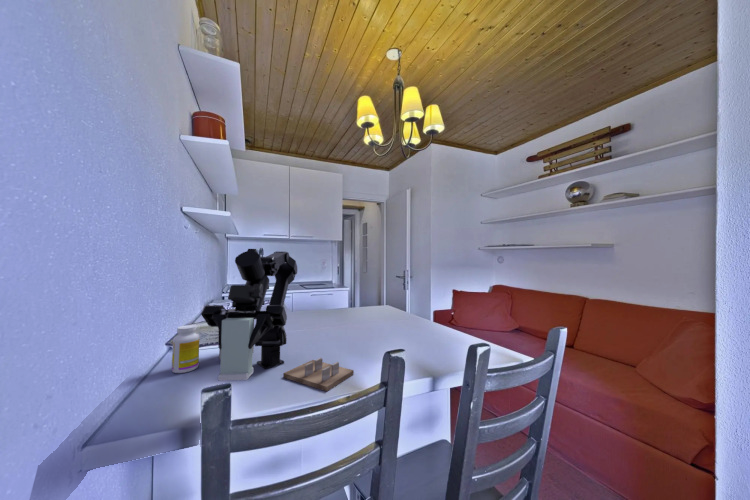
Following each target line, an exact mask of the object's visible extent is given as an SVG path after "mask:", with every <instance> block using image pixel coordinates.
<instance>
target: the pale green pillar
mask: <svg viewBox="0 0 750 500" xmlns="http://www.w3.org/2000/svg"><path fill="white" fill-rule="evenodd" d="M252 333H253V318H226V319H224V320H222V334H221V359H220V370H219V371H220V372H219V374H218V378H217V379H218V380H217V381H220V382H221V381H222V382H224V381H225V382H226V381H229V382H230V381H247V380H248V379H249V378H250V377H251V375H253V374H254V367H253V355H254V353H253V347H252V348H251V349H249V348H248V345H249V341H250V338H251V335H252Z"/></svg>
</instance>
